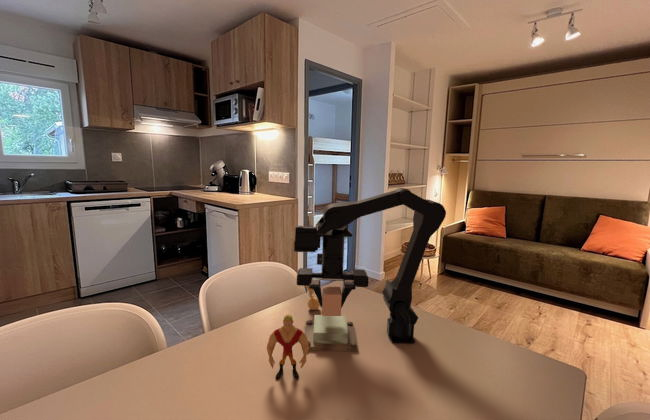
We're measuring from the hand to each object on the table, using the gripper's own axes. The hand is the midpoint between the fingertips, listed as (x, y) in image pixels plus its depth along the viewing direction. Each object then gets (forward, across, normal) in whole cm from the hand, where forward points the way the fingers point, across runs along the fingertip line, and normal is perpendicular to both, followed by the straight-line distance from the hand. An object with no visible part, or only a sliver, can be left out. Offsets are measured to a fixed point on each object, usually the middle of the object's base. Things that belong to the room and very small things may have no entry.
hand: (331, 306), depth 81 cm
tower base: (+9, 0, 0) cm, 9 cm away
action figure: (+9, +10, +15) cm, 20 cm away
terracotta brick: (+1, 0, 0) cm, 1 cm away
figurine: (+9, +6, -15) cm, 19 cm away
